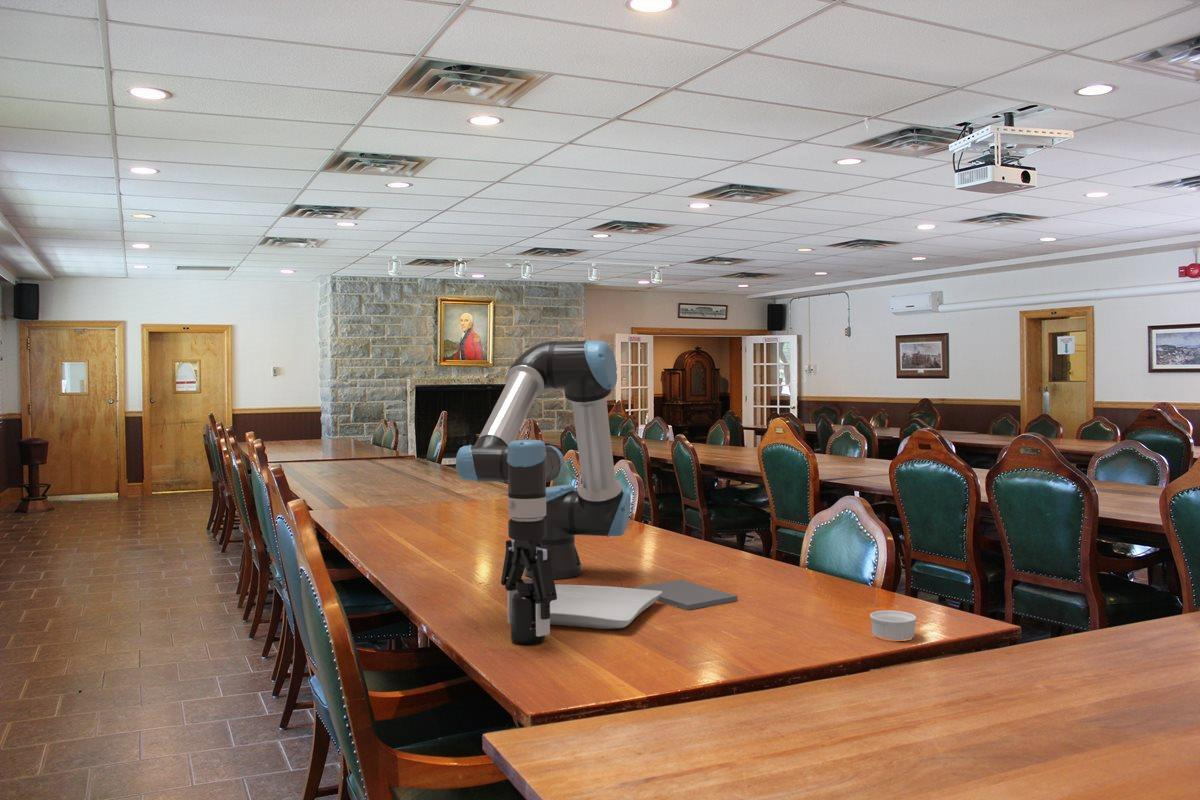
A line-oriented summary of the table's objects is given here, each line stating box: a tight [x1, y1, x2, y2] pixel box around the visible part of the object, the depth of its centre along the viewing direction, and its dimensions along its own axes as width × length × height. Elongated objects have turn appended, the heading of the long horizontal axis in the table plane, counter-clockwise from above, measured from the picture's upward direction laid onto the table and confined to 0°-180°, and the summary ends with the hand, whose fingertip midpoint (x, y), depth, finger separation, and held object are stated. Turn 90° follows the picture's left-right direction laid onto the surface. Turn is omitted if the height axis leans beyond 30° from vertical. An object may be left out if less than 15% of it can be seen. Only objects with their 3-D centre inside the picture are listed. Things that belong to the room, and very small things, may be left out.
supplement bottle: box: [510, 578, 546, 646], centre depth 181 cm, size 7×7×12 cm
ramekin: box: [869, 609, 918, 640], centre depth 183 cm, size 9×9×4 cm
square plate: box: [550, 583, 663, 630], centre depth 202 cm, size 27×27×4 cm
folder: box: [631, 579, 738, 611], centre depth 217 cm, size 15×21×1 cm
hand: (528, 628), depth 181 cm, fingers open, 11 cm apart
